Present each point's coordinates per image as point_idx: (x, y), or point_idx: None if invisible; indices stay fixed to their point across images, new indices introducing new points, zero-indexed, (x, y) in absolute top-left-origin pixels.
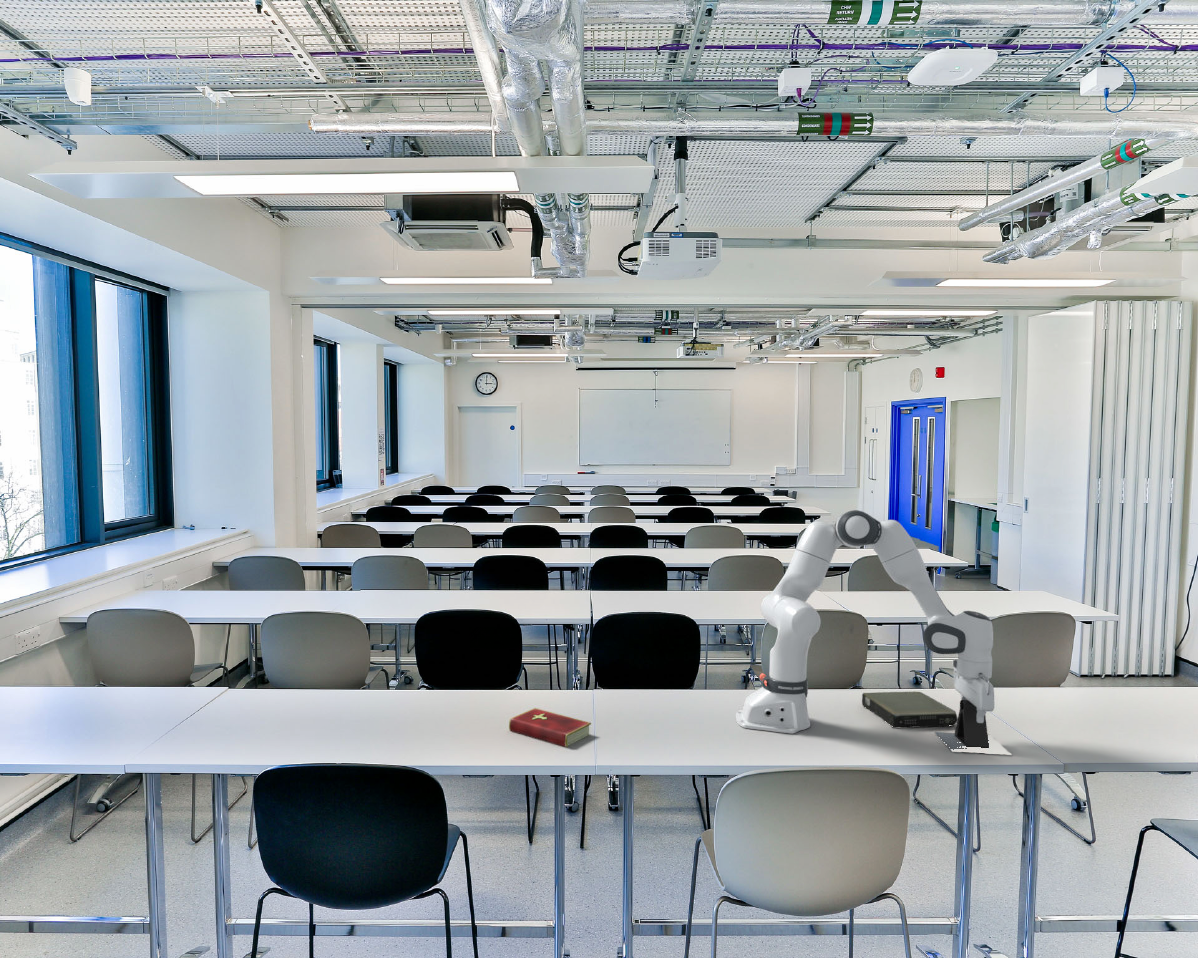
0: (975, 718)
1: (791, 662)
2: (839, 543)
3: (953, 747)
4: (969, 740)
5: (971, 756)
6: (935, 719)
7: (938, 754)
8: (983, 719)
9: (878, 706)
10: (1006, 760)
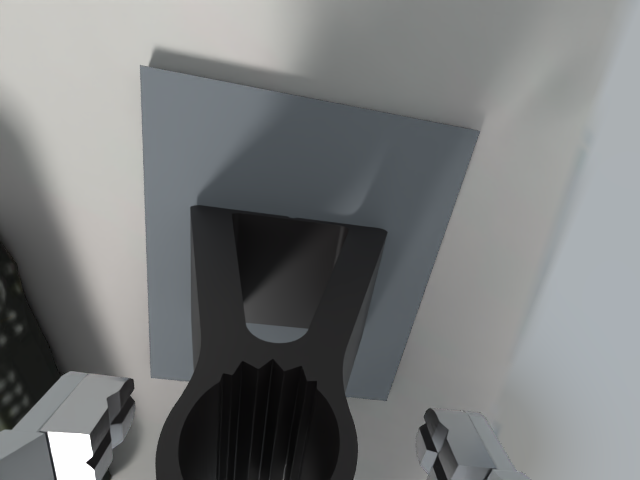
0: (429, 470)
1: None
2: None
3: (354, 382)
4: (360, 339)
5: (436, 341)
6: (17, 368)
7: (395, 441)
8: (497, 442)
9: None
10: (519, 206)
